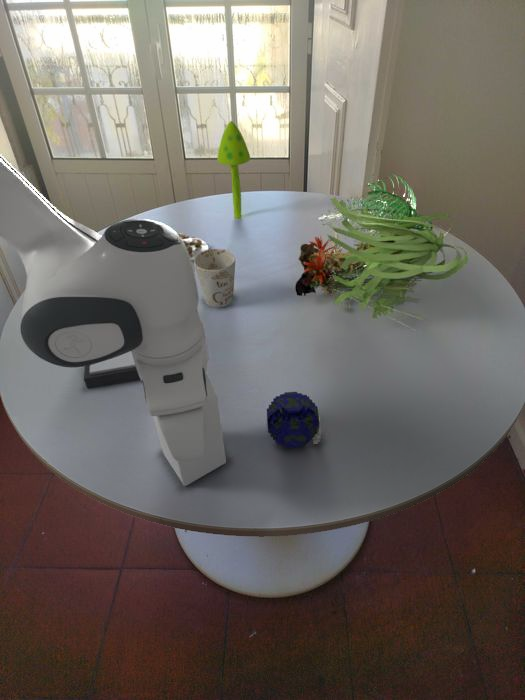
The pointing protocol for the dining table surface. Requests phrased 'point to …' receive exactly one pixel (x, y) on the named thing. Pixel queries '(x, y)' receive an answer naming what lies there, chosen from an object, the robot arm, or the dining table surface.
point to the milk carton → (214, 443)
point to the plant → (377, 253)
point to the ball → (293, 420)
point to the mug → (216, 276)
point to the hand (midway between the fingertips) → (188, 423)
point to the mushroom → (233, 160)
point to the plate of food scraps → (194, 245)
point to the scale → (111, 371)
